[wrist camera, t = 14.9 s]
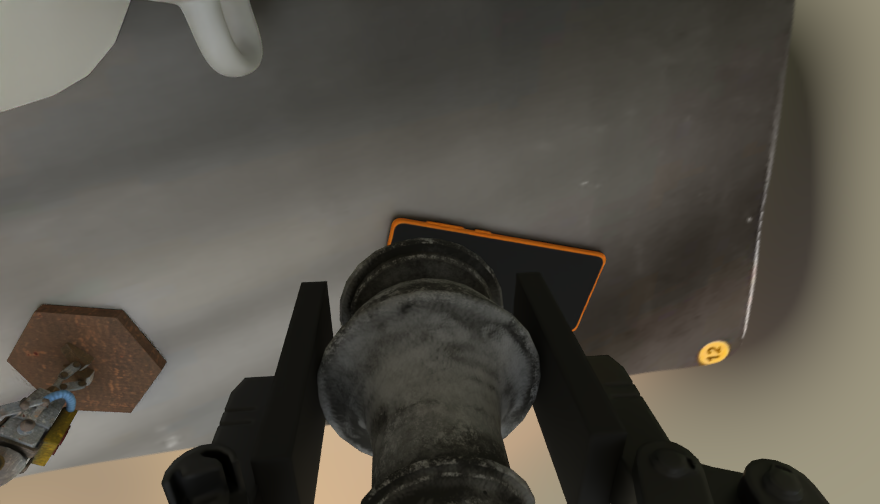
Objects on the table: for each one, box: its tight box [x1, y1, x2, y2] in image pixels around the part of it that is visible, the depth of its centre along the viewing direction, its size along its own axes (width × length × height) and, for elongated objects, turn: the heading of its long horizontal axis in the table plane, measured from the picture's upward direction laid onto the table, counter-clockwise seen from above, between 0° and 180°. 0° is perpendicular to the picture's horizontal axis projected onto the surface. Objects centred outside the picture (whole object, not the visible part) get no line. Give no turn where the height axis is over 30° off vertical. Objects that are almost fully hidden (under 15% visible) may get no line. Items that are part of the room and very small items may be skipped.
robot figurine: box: [0, 304, 166, 486], centre depth 34 cm, size 11×9×12 cm
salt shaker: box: [317, 238, 541, 504], centre depth 11 cm, size 6×6×12 cm
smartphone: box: [387, 218, 606, 331], centre depth 38 cm, size 8×17×1 cm, turn 77°
